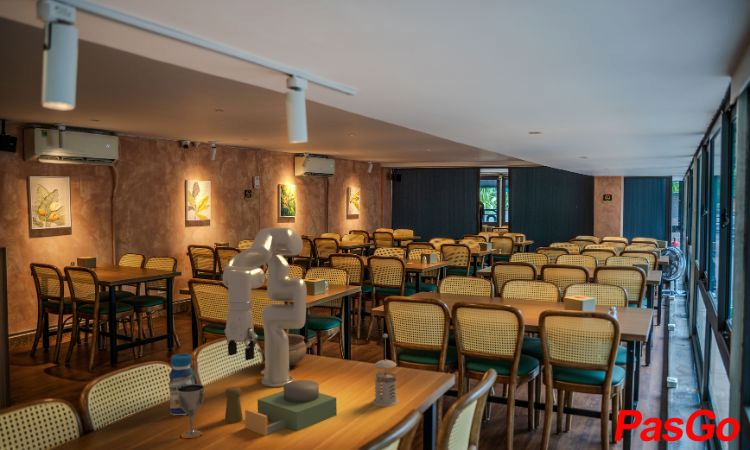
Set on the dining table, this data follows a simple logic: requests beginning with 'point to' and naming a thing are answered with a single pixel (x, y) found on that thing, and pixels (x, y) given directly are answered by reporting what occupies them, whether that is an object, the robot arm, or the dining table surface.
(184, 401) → the wine glass
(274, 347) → the robot arm
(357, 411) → the dining table surface
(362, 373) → the dining table surface
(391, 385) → the french press
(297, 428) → the green box with dome
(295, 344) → the cooking pot
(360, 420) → the dining table surface
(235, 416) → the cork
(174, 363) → the beverage bottle
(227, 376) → the dining table surface
